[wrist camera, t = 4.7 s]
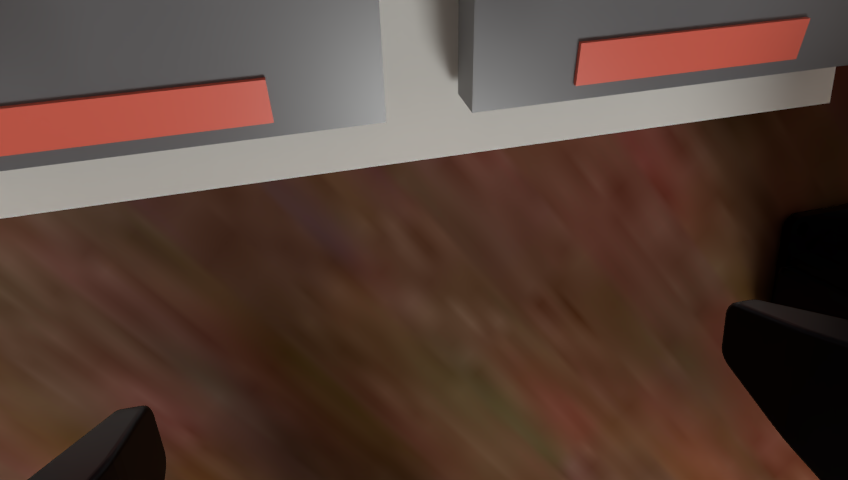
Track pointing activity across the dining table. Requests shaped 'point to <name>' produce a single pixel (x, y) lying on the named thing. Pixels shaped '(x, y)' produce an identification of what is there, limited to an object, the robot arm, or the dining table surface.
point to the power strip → (400, 125)
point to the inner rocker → (635, 45)
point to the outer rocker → (180, 74)
